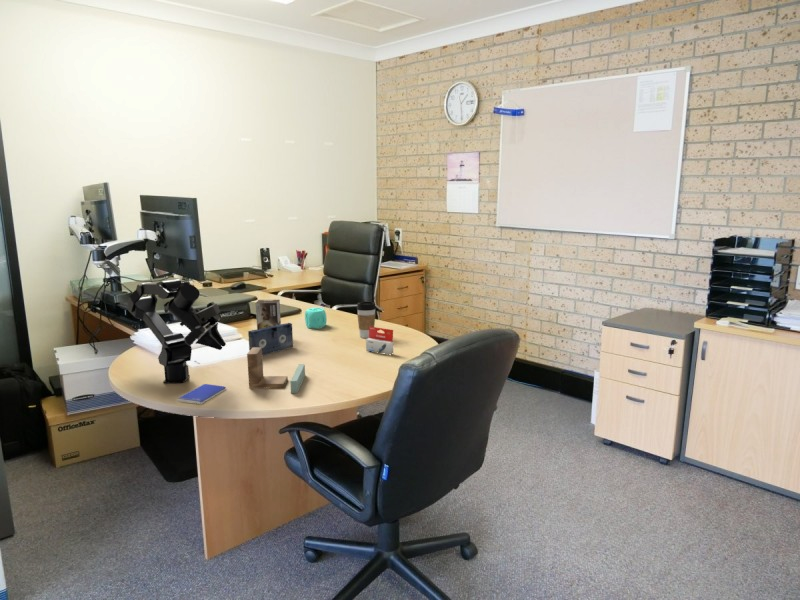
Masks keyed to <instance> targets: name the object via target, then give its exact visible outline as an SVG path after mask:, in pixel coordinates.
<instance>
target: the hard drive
mask: <svg viewBox="0 0 800 600" xmlns="http://www.w3.org/2000/svg"><path fill="white" fill-rule="evenodd" d="M226 389H227V388H226V386H222V385H217V384H208V383H203V384H202V385H200V386H198V387H196V388H194V389H193V390H191V391H189V392H186V393H185V394H183V395H182V396H179V397H177V401H178V402H182V403H191V404H196V403H197V404H198V405H203V404H204V403H205V401H206V402H207V401H209V400H211V399H212V398H214V397H215V395H216V396H217V395H219V394H220V392H221V393H223V392H224V391H225V390H226ZM210 398H211V399H210ZM197 404H196V405H197Z"/></svg>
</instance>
